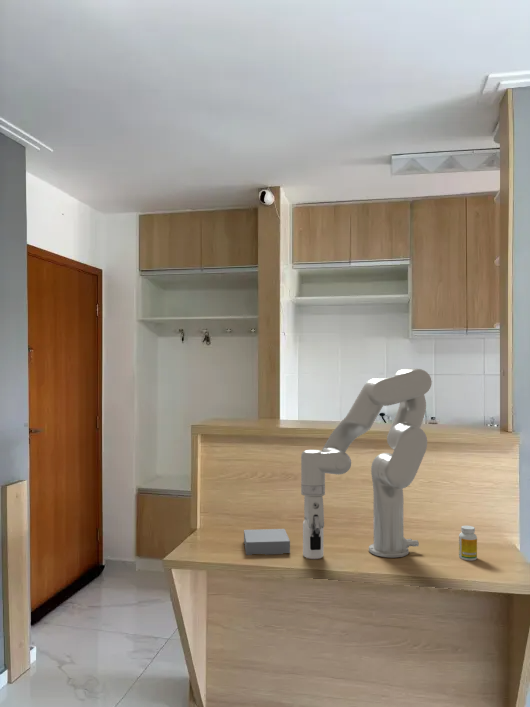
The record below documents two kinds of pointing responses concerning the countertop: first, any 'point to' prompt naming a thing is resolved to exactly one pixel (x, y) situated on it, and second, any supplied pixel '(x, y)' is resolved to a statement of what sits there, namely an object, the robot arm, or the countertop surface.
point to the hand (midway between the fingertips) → (313, 545)
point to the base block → (266, 541)
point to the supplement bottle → (468, 543)
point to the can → (306, 543)
